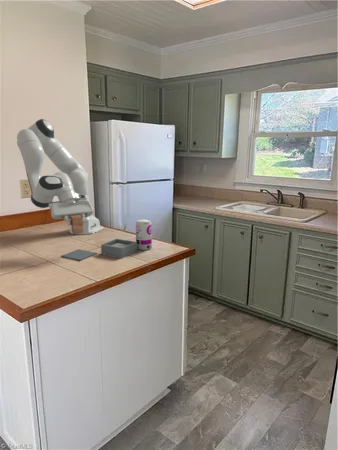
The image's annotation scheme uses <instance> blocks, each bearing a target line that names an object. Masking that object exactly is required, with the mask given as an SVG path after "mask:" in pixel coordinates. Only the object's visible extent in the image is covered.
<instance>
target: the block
mask: <svg viewBox="0 0 338 450" xmlns="http://www.w3.org/2000/svg"><path fill="white" fill-rule="evenodd" d="M70 220H72V225H71V226H72V233H73V234H72V235H80V234H79V233H84V232H83V220H82V216H81V215H75V216H71V218H70Z"/></svg>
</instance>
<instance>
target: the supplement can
mask: <svg viewBox="0 0 338 450" xmlns="http://www.w3.org/2000/svg"><path fill="white" fill-rule="evenodd" d="M152 228H153V227H152V222H151V219H147V218H143V219H142V218H141V219H137V220H136V222H135V242H136V245H137V250H140V251H149V250H151V248H152V247H153V244H152V242H153V240H152V239H153V238H152V237H153V235H152V230H153V229H152Z"/></svg>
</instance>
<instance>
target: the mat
mask: <svg viewBox="0 0 338 450" xmlns="http://www.w3.org/2000/svg"><path fill="white" fill-rule="evenodd" d="M97 254H98V252H94V251H90V250H85V249H80V248H78V249H75V250H73V251H70V252H67V253H64V254H62V255H60V256H61V258H65V259H69V260H74V261H79V262H81V261H83V260H86V259H88V258H90V257H93V256H96V255H97Z"/></svg>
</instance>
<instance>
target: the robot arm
mask: <svg viewBox="0 0 338 450" xmlns="http://www.w3.org/2000/svg"><path fill="white" fill-rule="evenodd" d="M16 140H17V141H16V142H17V143H16V144H17V147H18V149H19V152H20V155H21V157H22V160H23V163H24V167H25V169H24V170H25V172H26V177H27V180H28V184H29V188H30V191H31V193H30V194H31V195H30V201H31V203H32V204H33V205H34V206H35V207H36V208H40V209H46V208H49V209H50V214H51V215H50V216H51V218H52V219H53V220H61V219H63V220H64V221H65V222H66V223H67V225H68V226H69V227H70V228H69V233H70V234H72V235H74V234H73V233H72V226H71V225H72V220H71V216H75V215H81V216H82V220H83V232H84V233H79V234H78V235H93V234H95V232H96V233H97V232H99V231H102V230H104V226H102V225H101V224H100V223H101V222H100V219H99V218H97V217H95V216H94V215H93V213H95V209H94V207H93V205H92V203H91V202H90V194H89V185H88V182H89V180H90V179H89V178H90V177H89V176H90V175H89V173H88V172H87V171H86V169H85V168H84V167H83V166H82V165H81V164H80V163H79V162H78V161H77V160H76V159H75V158H74V157H73V155H72V154H71V153H70V152H69V151H68V150H67V149H66V147H65V146H64V145H63V144H62V143H61V142H60V140H58V139H57V138H56V137H55V130H54V126H53V125H52V124H51V123H50V122H49V121H48V120H46V119H43V118H40V119H38V120H37V121H35V123H33V124H32V125H30V126H29V127H28V128H24V129H21V130H19V131H18V133H17V134H16ZM45 155H46V157H47V158H48V159H49V160H50V161H51V163H53V165H54V166H55V167H56V168H57V169H58V170H59V172H56V173H54V174H53V175H42V176H41V171H42V166H43V164H44V160H45ZM55 197H57V198H58V200H57V201H54V200H53V199H54V198H55Z"/></svg>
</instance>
